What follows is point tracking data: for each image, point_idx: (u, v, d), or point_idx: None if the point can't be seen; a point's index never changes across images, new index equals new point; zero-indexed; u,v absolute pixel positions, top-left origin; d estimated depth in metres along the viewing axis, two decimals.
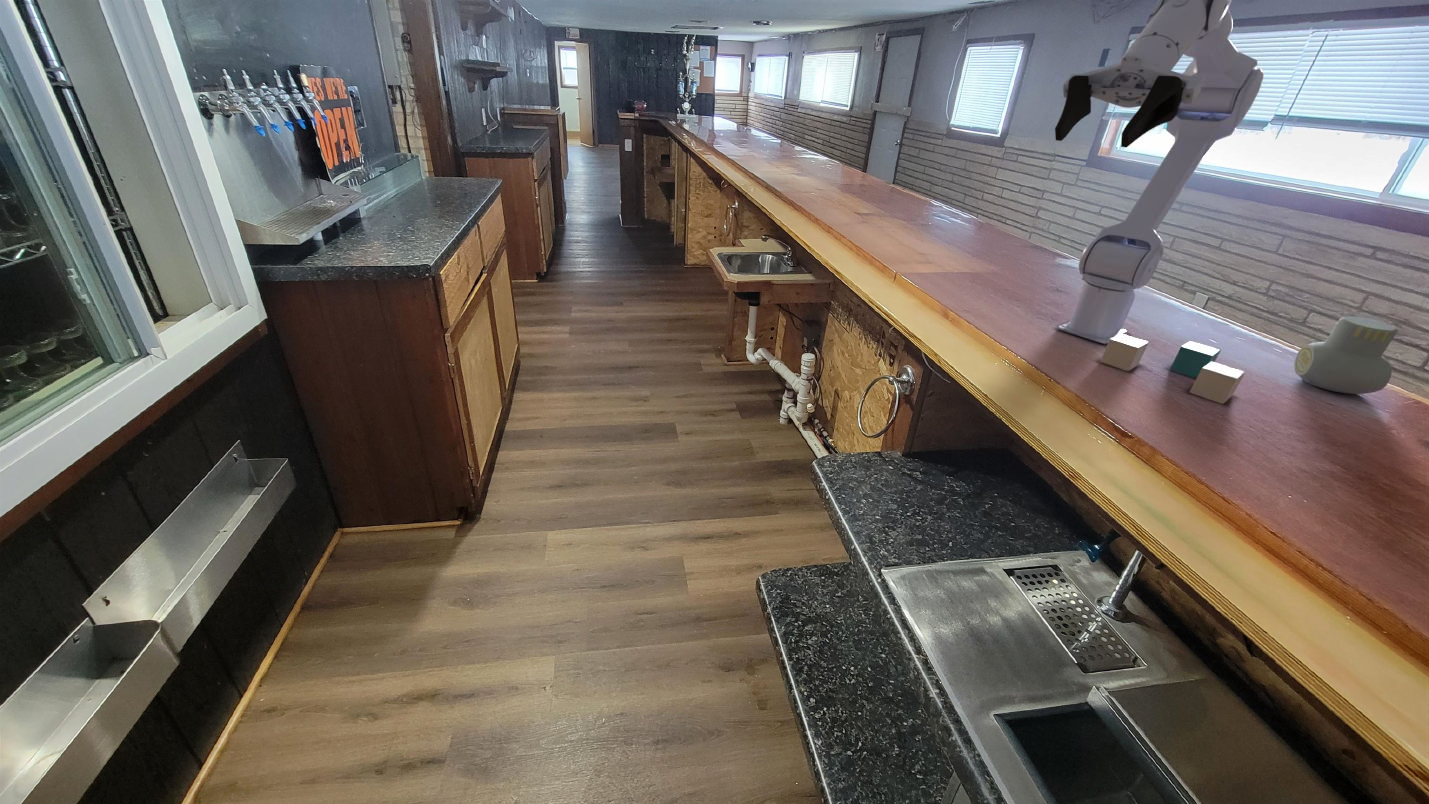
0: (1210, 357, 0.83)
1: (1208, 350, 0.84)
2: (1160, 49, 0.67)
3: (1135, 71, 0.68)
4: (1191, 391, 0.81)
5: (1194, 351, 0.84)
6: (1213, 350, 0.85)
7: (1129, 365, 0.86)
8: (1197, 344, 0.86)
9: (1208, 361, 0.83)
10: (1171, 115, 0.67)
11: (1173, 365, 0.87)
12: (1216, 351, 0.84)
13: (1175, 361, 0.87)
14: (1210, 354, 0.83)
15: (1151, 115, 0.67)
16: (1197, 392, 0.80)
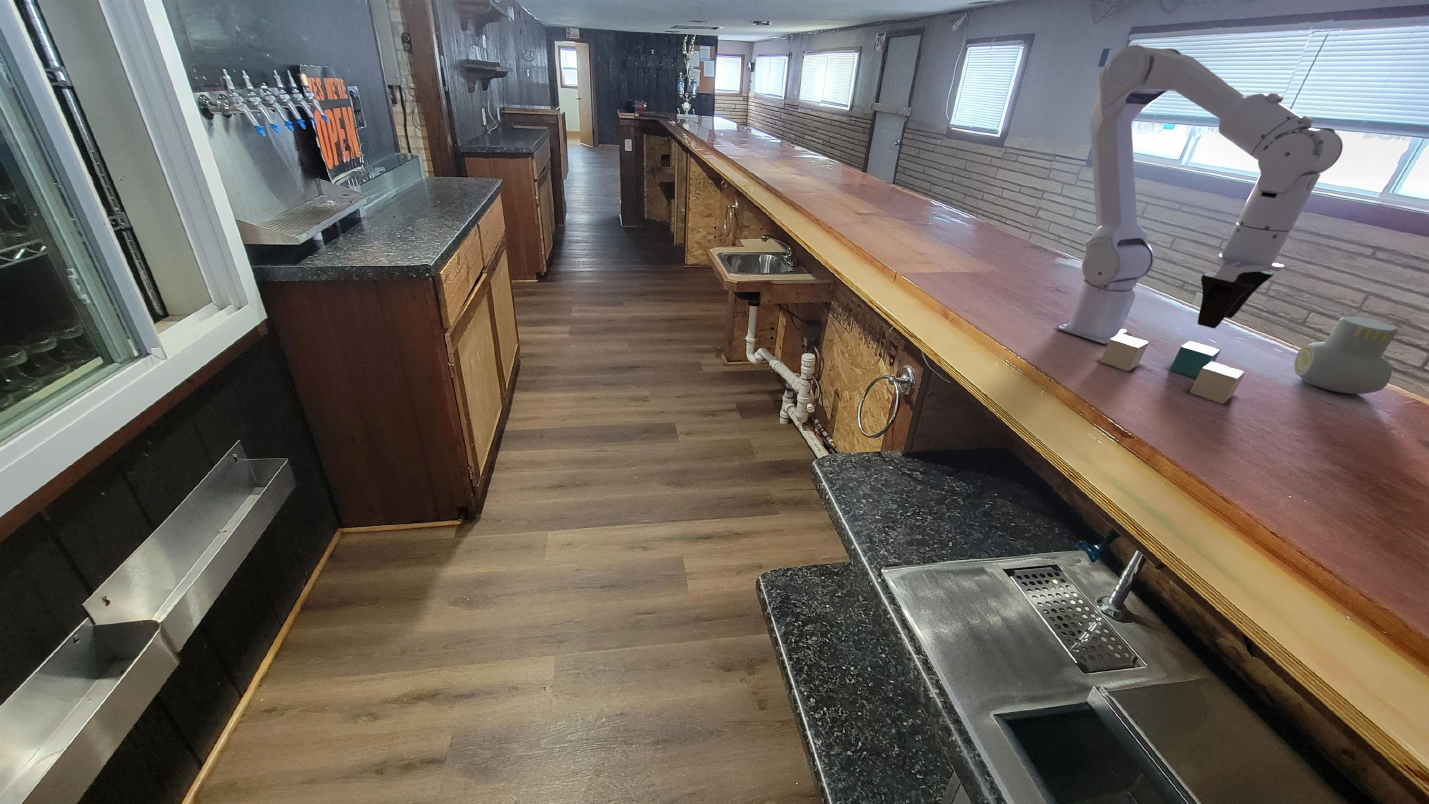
0: (1210, 357, 0.83)
1: (1208, 350, 0.84)
2: None
3: None
4: (1191, 391, 0.81)
5: (1194, 351, 0.84)
6: (1213, 350, 0.85)
7: (1129, 365, 0.86)
8: (1197, 344, 0.86)
9: (1208, 361, 0.83)
10: None
11: (1173, 365, 0.87)
12: (1216, 351, 0.84)
13: (1175, 361, 0.87)
14: (1210, 354, 0.83)
15: None
16: (1197, 392, 0.80)
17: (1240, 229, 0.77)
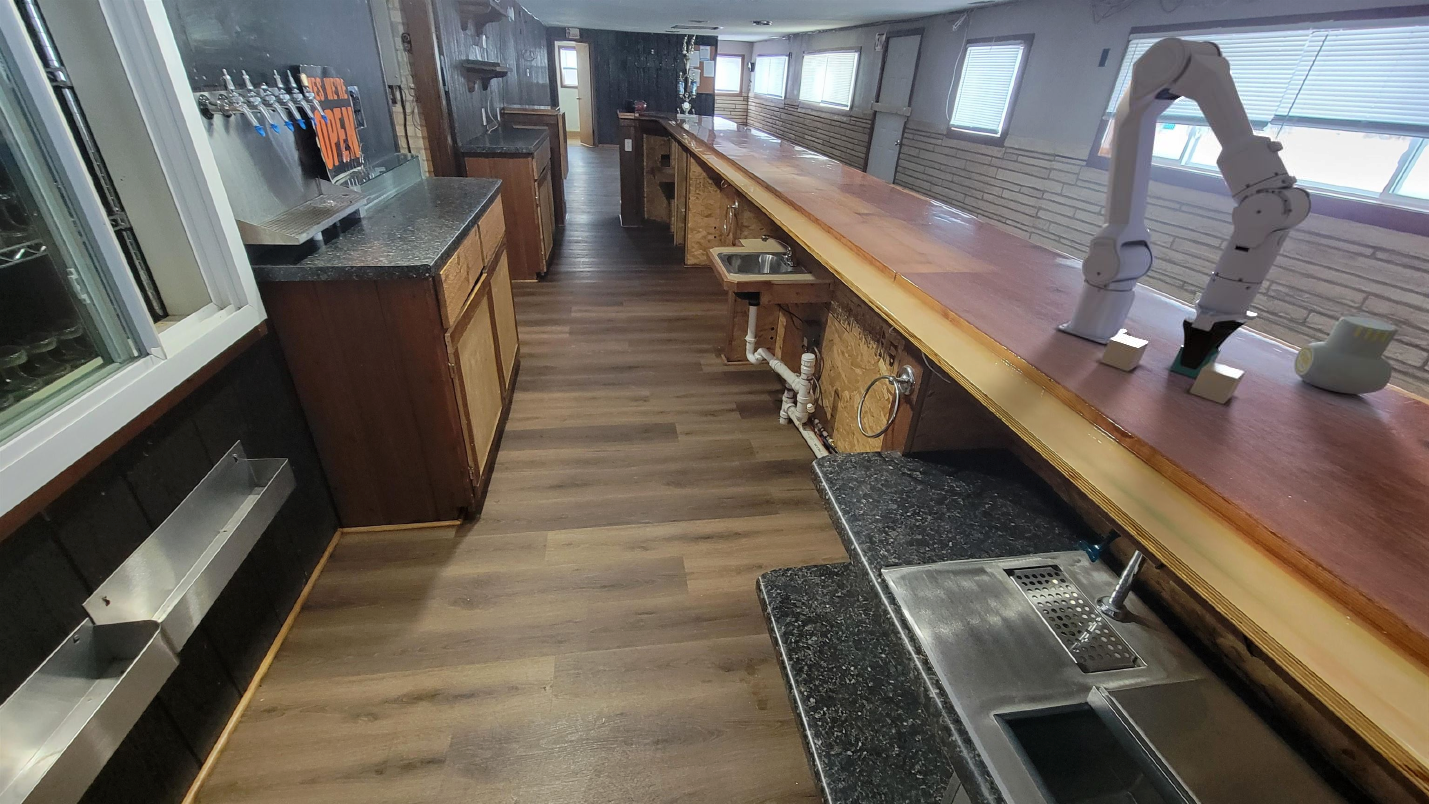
0: (1210, 357, 0.83)
1: None
2: None
3: None
4: (1191, 391, 0.81)
5: None
6: (1213, 350, 0.85)
7: (1129, 365, 0.86)
8: None
9: (1208, 361, 0.83)
10: None
11: (1173, 365, 0.87)
12: (1216, 351, 0.84)
13: (1175, 361, 0.87)
14: (1210, 354, 0.83)
15: None
16: (1197, 392, 0.80)
17: (1215, 279, 0.80)
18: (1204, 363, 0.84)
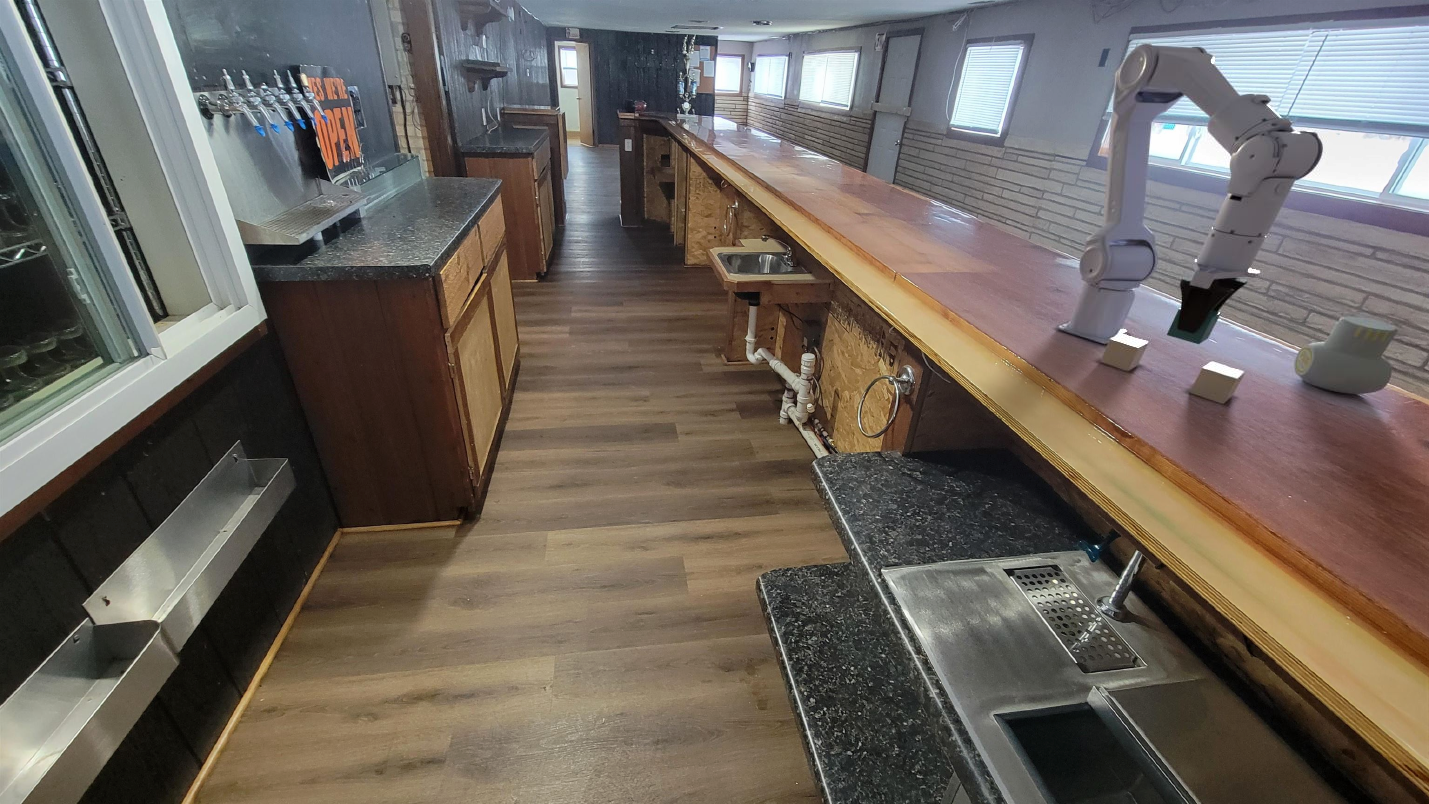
0: (1210, 319, 0.78)
1: None
2: None
3: None
4: (1191, 391, 0.81)
5: None
6: (1213, 312, 0.79)
7: (1129, 365, 0.86)
8: None
9: (1208, 324, 0.78)
10: None
11: (1170, 329, 0.81)
12: (1216, 313, 0.79)
13: (1172, 325, 0.81)
14: (1210, 316, 0.78)
15: None
16: (1197, 392, 0.80)
17: (1215, 234, 0.75)
18: (1203, 326, 0.78)
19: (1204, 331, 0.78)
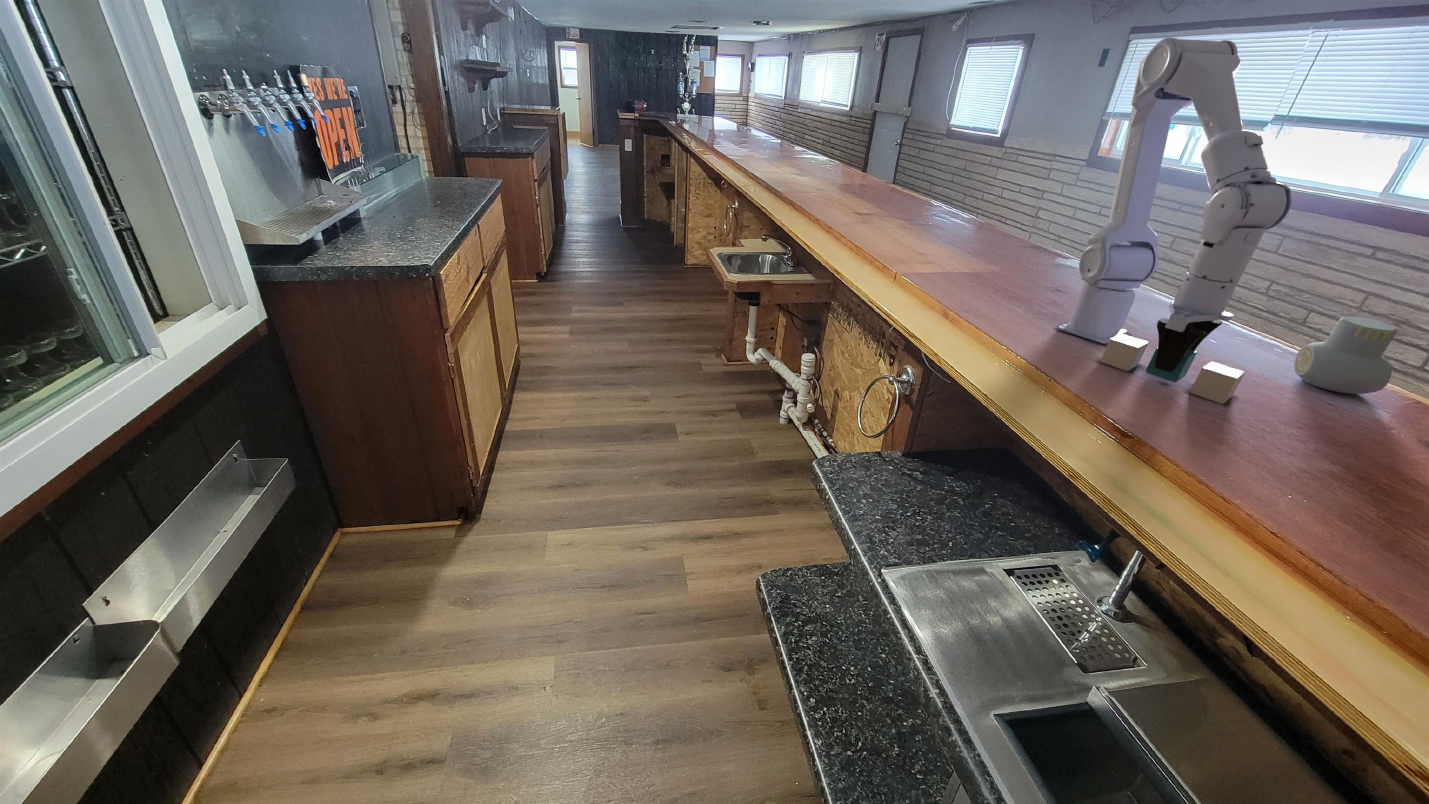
0: (1186, 359, 0.80)
1: None
2: None
3: None
4: (1191, 391, 0.81)
5: None
6: (1190, 351, 0.82)
7: (1129, 365, 0.86)
8: None
9: (1184, 363, 0.81)
10: None
11: (1148, 367, 0.84)
12: (1192, 353, 0.81)
13: (1150, 363, 0.84)
14: (1186, 356, 0.80)
15: None
16: (1197, 392, 0.80)
17: (1190, 278, 0.77)
18: (1180, 365, 0.81)
19: (1180, 370, 0.81)
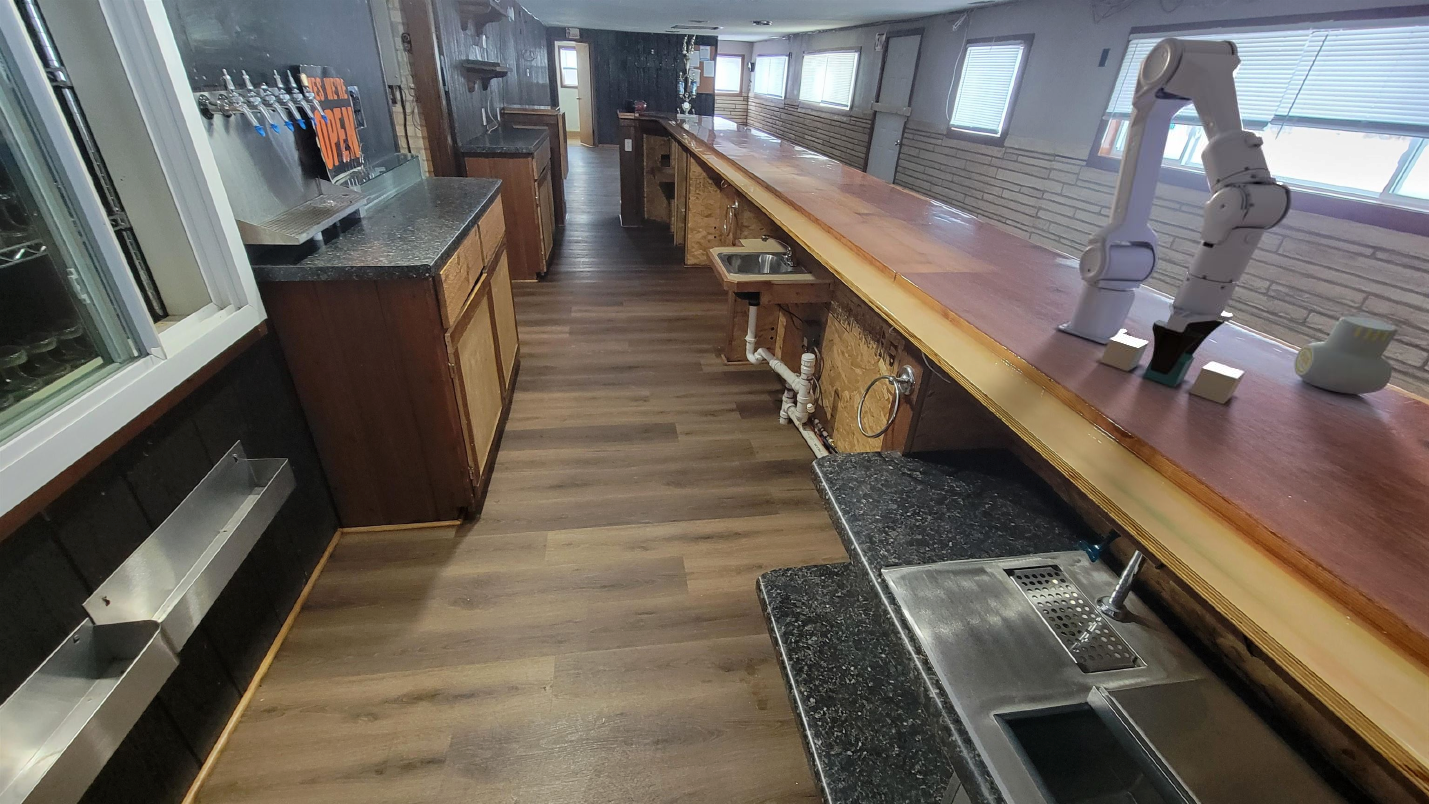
0: (1183, 364, 0.81)
1: (1181, 357, 0.82)
2: None
3: None
4: (1191, 391, 0.81)
5: None
6: (1187, 356, 0.82)
7: (1129, 365, 0.86)
8: None
9: (1181, 368, 0.81)
10: None
11: (1146, 372, 0.84)
12: (1190, 357, 0.82)
13: (1148, 368, 0.84)
14: (1184, 360, 0.81)
15: (1188, 328, 0.84)
16: (1197, 392, 0.80)
17: (1190, 279, 0.77)
18: (1177, 370, 0.81)
19: (1178, 375, 0.81)
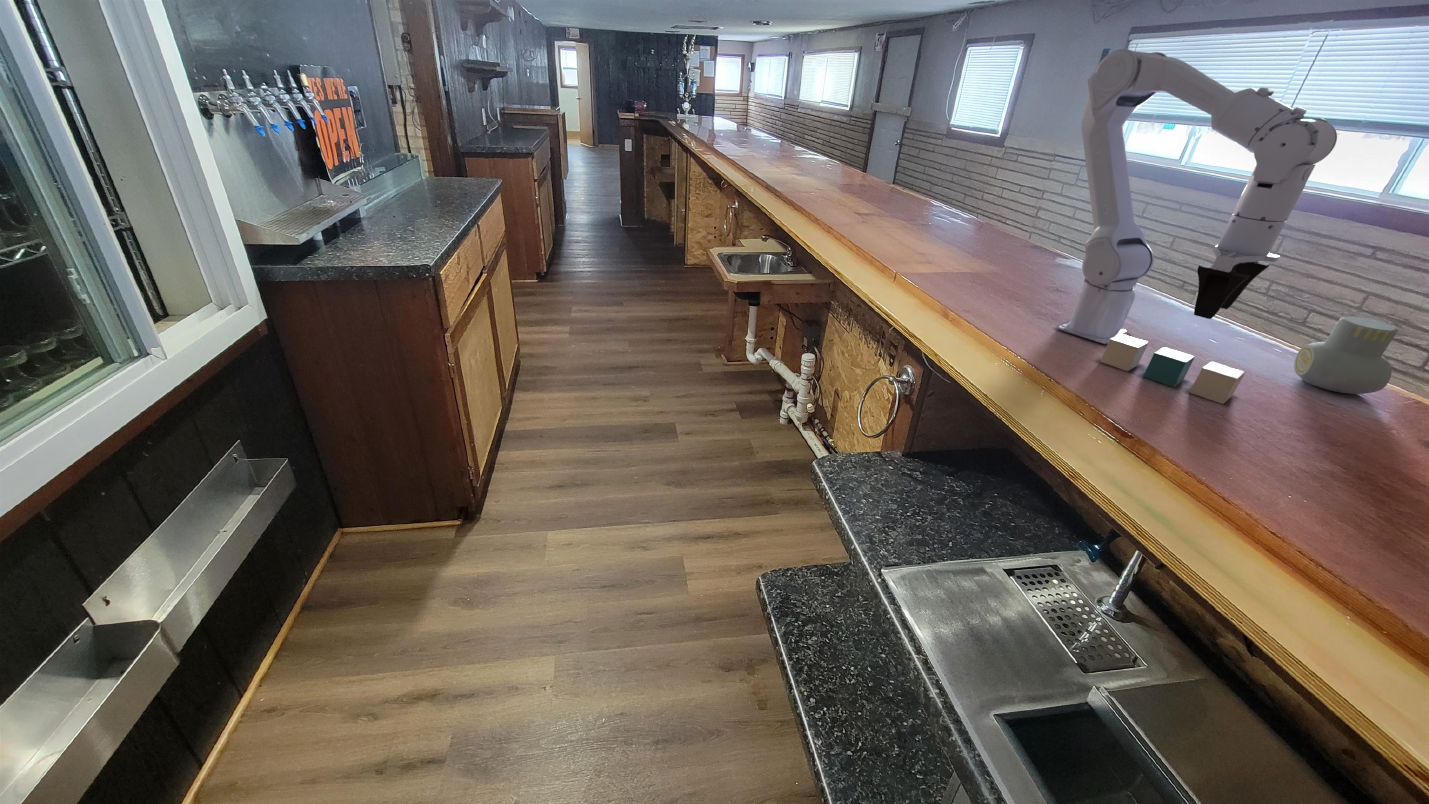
0: (1183, 364, 0.81)
1: (1181, 357, 0.82)
2: None
3: None
4: (1191, 391, 0.81)
5: (1167, 357, 0.82)
6: (1187, 356, 0.82)
7: (1129, 365, 0.86)
8: (1171, 350, 0.84)
9: (1181, 368, 0.81)
10: None
11: (1146, 372, 0.84)
12: (1190, 357, 0.82)
13: (1148, 368, 0.84)
14: (1184, 360, 0.81)
15: None
16: (1197, 392, 0.80)
17: (1236, 220, 0.77)
18: (1177, 370, 0.81)
19: (1178, 375, 0.81)
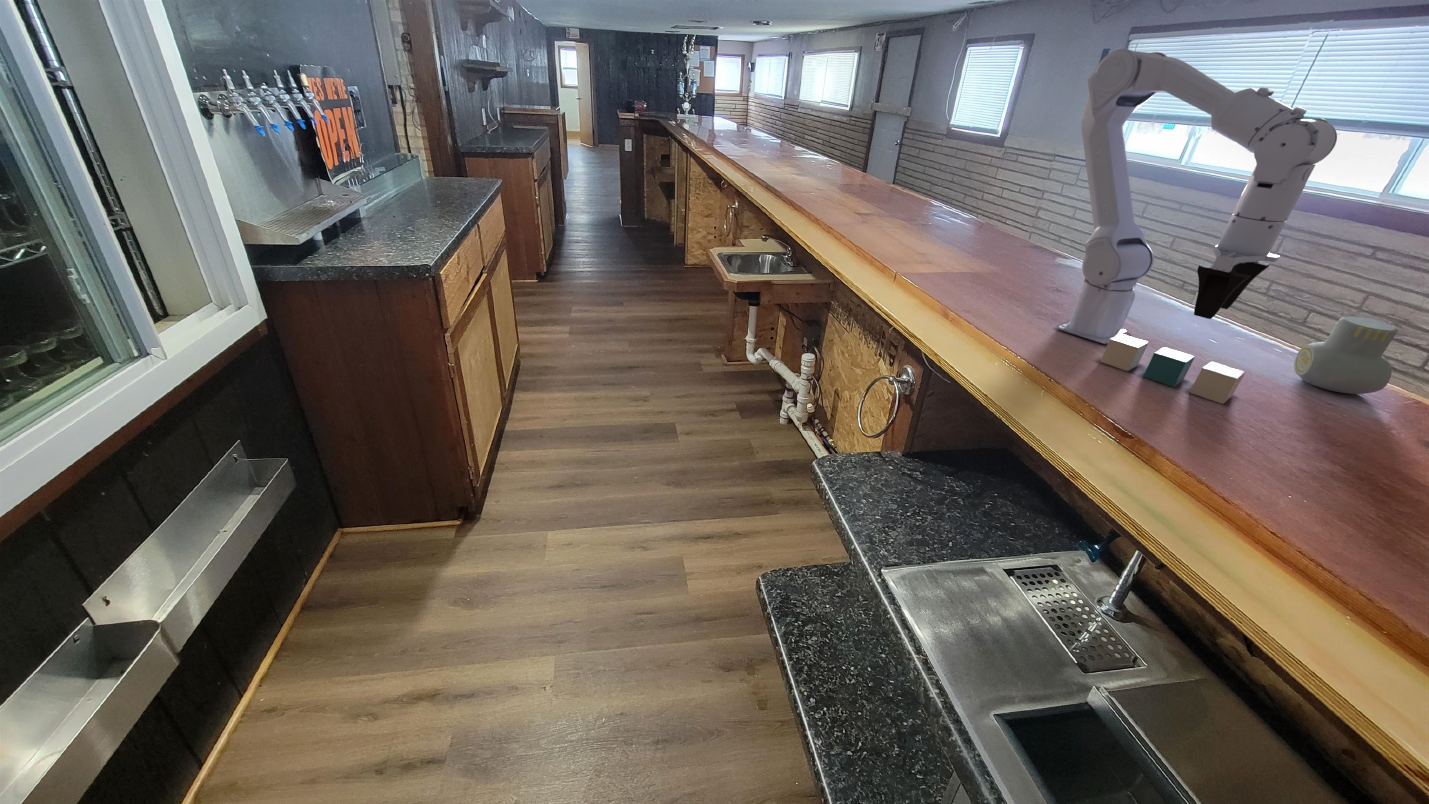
0: (1183, 364, 0.81)
1: (1181, 357, 0.82)
2: None
3: None
4: (1191, 391, 0.81)
5: (1167, 357, 0.82)
6: (1187, 356, 0.82)
7: (1129, 365, 0.86)
8: (1171, 350, 0.84)
9: (1181, 368, 0.81)
10: None
11: (1146, 372, 0.84)
12: (1190, 357, 0.82)
13: (1148, 368, 0.84)
14: (1184, 360, 0.81)
15: None
16: (1197, 392, 0.80)
17: (1236, 220, 0.77)
18: (1177, 370, 0.81)
19: (1178, 375, 0.81)
